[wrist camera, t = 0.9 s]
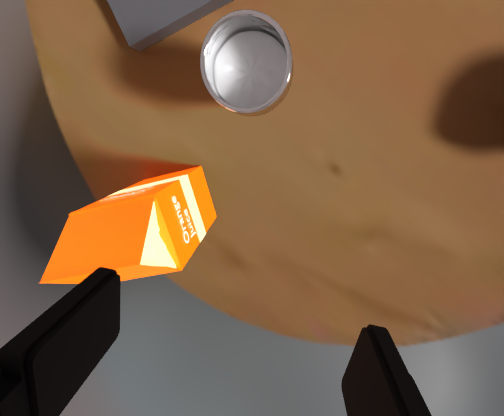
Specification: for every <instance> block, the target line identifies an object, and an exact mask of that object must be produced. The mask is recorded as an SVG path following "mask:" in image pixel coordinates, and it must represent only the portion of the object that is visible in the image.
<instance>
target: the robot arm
mask: <svg viewBox="0 0 504 416" xmlns="http://www.w3.org/2000/svg"><path fill="white" fill-rule="evenodd" d="M119 330H120V275H118V274H117V271H116V270H114V269H109V268H104V267H99V268H97V269H96V270H95V271H94V272H92V273H91V274H90V275H89V276H88V277H86V278H85V279H84V280H83V281H82V282H80V283H79V284H78V285H77V286H76V287H74V288H73V289H72V290H71V291H70V292H68V293H67V294H66V295H65V296H63V297H62V298H61V299H60V300H59V301H57V302H56V303H55V304H54V305H53V306H51V307H50V308H49V309H48V310H46V311H45V312H44V313H43V314H42V315H40V316H39V317H38V318H37V319H36V320H35V321H33V322H32V323H31V324H30V325H28V326H27V327H26V328H25V329H23V330H22V331H21V332H20V333H19V334H18V335H16V336H15V337H14V338H13V339H11V340H10V341H9V342H8V343H7V344H5V345H4V346H3V347H2V348H1V349H0V416H59V415H60V414H61V412H62V411H63V410H64V408H65V407H66V406H67V404H68V403H69V402H70V400H71V399H72V398H73V396H74V395H75V394H76V392H77V391H78V390H79V388H80V387H81V385H82V384H83V383H84V381H85V380H86V379H87V377H88V376H89V375H90V373H91V372H92V371H93V369H94V368H95V367H96V365H97V364H98V363H99V361H100V359H102V357H103V356H104V354H105V353H106V352H107V351H108V349H109V348H110V346H111V345H112V344H113V342H114V341H115V340H116V338H117V336H118V334H119ZM342 392H343V397H344V402H345V407H346V411H347V416H431V414H430V412H429V410H428V408H427V406H426V404H425V402H424V399H423V398H422V395H421V394H420V392H419V390H418V388H417V385H416V384H415V381H414V380H413V378H412V376H411V375H410V374H409V373H408V371H407V369H406V366H405V364H404V362H403V360H402V358H401V356H400V355H399V352H398V350H397V348H396V346H395V344H394V342H393V340H392V338H391V336H390V334H389V332H388V330H387V329H386V328H384V327H379V326H375V325H368V326H367V328H365V327H364V328H362V330H361V333H360V335H359V338H358V340H357V343H356V345H355V348H354V351H353V353H352V356H351V358H350V361H349V363H348V366H347V368H346V371H345V374H344V376H343V379H342Z"/></svg>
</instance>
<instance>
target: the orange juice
mask: <svg viewBox="0 0 504 416" xmlns="http://www.w3.org/2000/svg"><path fill="white" fill-rule="evenodd" d="M216 217H217V216H216V213H215V210H214V206H213V203H212V200H211V196H210V193H209V190H208V187H207V183H206V180H205V177H204V173H203V170H202V167H201V166H199V167H195V168H191V169H187V170H183V171H179V172H174V173H170V174H166V175H162V176H158V177H154V178H150V179H146V180H143V181H140V182H138V183H136V184H134V185H132V186H129V187H127V188H125V189H123V190H120V191H118V192H115V193H113V194H111V195H109V196H107V197H105V198H103V199H101V200H99V201H96V202H94V203H92V204H90V205H88V206H86V207H83V208H81V209H79V210H77V211H74V212H71V213H70V214H69V218H68V220H67V223H66V225H65V227H64V229H63V231H62V234H61V236H60V238H59V240H58V243H57V245H56V247H55V250H54V252H53V254H52V256H51V259H50V261H49V263H48V266H47V268H46V270H45V272H44V274H43V277H42V279H41V282H40V283H62V284H79V283H80V282H82V281H83V280H84V279H85V278H86V277H88V276H89V275H90V274H91V273H92V272H94V271H95V270H96V269H97V268H99V267H104V268H109V269H114V270H116V271H117V274H118V275H120V281H124V280H130V279H136V278H141V277H147V276H153V275H158V274H164V273H170V272H175V271H181V270H182V269H183V268H184V266H185V265H186V263H187V261H188V260H189V258H190V257H191V255H192V254H193V252H194V251H195V249H196V248H197V246H198V244H199V243H200V242H201V241H202V239H203V238H204V236H205V235H206V232H207V231H208V229H209V227H210V226H211V224H212V223H213V221H214V220H215V218H216Z"/></svg>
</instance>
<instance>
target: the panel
mask: <svg viewBox="0 0 504 416" xmlns="http://www.w3.org/2000/svg"><path fill="white" fill-rule="evenodd" d="M107 1H108V3H109V5H110V8H111V10H112V12H113V14H114V16H115V18H116V20H117V22H118V24H119V26H120V28H121V30H122V32H123V34H124V36H125V39H126V41H127V43H128V45H129V47H131V48H133V49H135V50H137V51H139V52H141V51H143V50H144V49H146V48H148V47H150V46H152V45H153V44H155V43H157V42H159V41H161V40H162V39H164V38H166V37H168V36H170V35H171V34H173V33H175V32H177V31H179V30H180V29H182V28H184V27H186V26H188V25H190V24H191V23H193V22H195V21H197V20H199V19H200V18H202V17H204V16H206V15H208V14H209V13H211V12H213V11H215V10H217V9H218V8H220V7H222V6H224V5H226V4H227V3H229V2H231V1H233V0H107Z"/></svg>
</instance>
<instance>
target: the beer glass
mask: <svg viewBox="0 0 504 416" xmlns="http://www.w3.org/2000/svg"><path fill="white" fill-rule="evenodd" d="M200 68H201V74H202V78H203V81H204V84H205V86H206V88H207V90H208V92H209V93H210V95H211V96H212V97H213V98H214V99H215V100H216V101H217V102H218V103H219V104H220V105H222V106H223V107H225V108H227V109H228V110H230V111H232V112H234V113H236V114H239V115H243V116H251V117H252V116H260V115H263V114H266V113H268V112H270V111H272V110H273V109H275V108H276V107H277V106H278V105H279V104H280V103H281V102H282V101H283V100H284V98H285V97H286V95H287V93H288V91H289V89H290V86H291V82H292V77H293V60H292V51H291V46H290V43H289V40H288V38H287V36H286V34H285V32H284V31H283V29H282V28H281V26H280V25H279V24H278V23H277V22H276V21H275V20H274V19H272V18H271V17H270V16H268V15H266V14H264V13H262V12H259V11H255V10H238V11H234V12H231V13H229V14H227V15H225V16H224V17H222V18H221V19H219V20H218V21H217V22H216V23H215V24H214V25H213V26H212V28H211V29H210V30H209V32H208V34H207V36H206V38H205V40H204V42H203V45H202V49H201V55H200Z"/></svg>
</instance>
